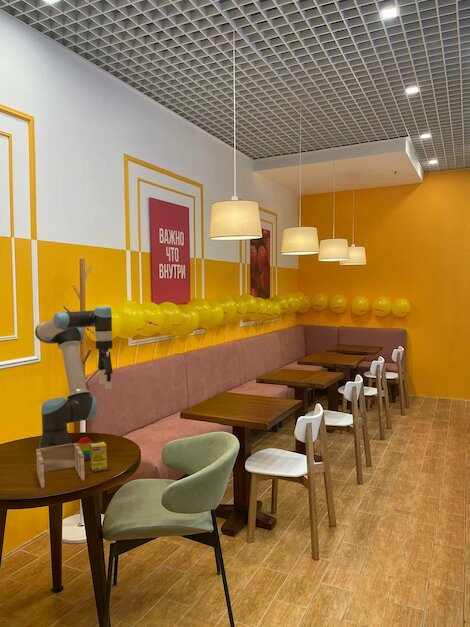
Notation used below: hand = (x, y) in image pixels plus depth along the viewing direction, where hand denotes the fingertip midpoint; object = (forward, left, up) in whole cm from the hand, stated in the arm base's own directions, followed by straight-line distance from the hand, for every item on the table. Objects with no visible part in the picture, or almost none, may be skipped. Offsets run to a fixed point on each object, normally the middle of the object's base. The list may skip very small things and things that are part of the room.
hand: (105, 386), depth 222 cm
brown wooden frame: (+4, -27, -33) cm, 43 cm away
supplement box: (+11, -13, -33) cm, 37 cm away
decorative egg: (-6, -8, -33) cm, 34 cm away
